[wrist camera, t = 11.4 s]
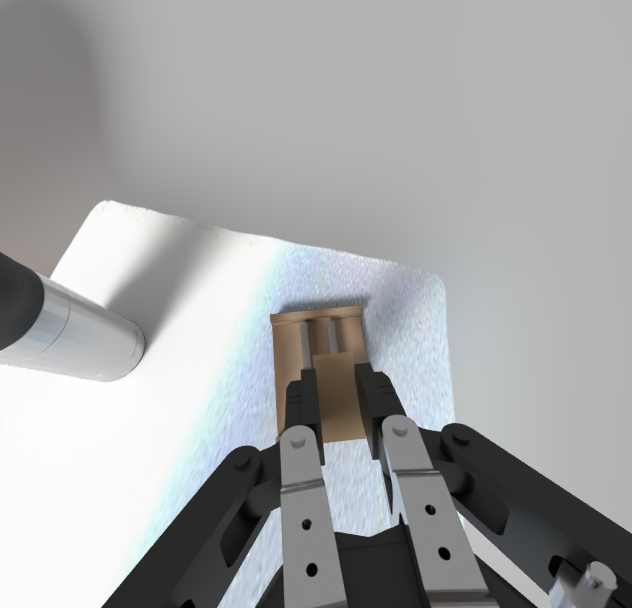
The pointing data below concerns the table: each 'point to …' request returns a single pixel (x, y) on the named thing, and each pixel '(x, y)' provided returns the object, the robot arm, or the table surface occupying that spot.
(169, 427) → the table surface
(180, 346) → the table surface
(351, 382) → the oak slat
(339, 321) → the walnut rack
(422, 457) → the robot arm
